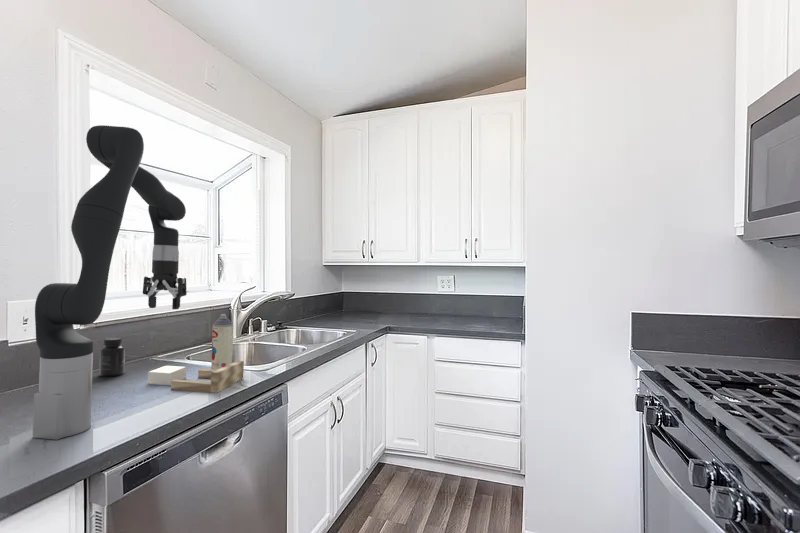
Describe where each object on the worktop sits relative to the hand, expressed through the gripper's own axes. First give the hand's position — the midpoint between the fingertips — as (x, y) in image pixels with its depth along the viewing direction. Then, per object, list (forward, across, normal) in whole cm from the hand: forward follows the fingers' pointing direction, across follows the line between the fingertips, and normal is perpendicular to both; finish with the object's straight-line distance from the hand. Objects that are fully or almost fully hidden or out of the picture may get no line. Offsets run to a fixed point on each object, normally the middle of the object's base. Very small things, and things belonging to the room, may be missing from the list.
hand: (164, 308), depth 132 cm
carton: (+23, +4, -2) cm, 24 cm away
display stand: (+23, +19, -2) cm, 30 cm away
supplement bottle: (+23, -18, 0) cm, 30 cm away
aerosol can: (+23, +12, +14) cm, 30 cm away
